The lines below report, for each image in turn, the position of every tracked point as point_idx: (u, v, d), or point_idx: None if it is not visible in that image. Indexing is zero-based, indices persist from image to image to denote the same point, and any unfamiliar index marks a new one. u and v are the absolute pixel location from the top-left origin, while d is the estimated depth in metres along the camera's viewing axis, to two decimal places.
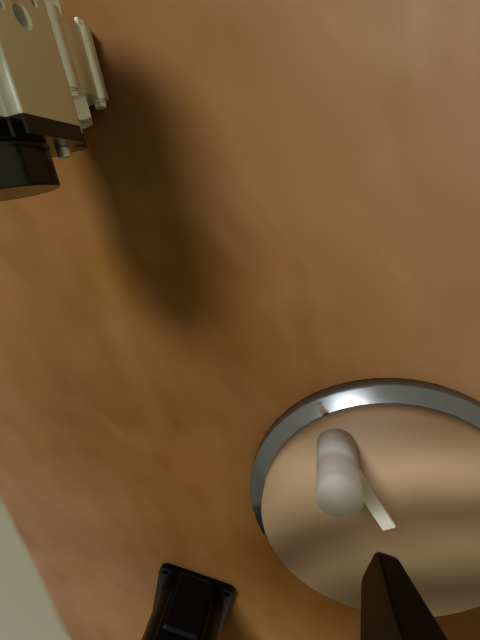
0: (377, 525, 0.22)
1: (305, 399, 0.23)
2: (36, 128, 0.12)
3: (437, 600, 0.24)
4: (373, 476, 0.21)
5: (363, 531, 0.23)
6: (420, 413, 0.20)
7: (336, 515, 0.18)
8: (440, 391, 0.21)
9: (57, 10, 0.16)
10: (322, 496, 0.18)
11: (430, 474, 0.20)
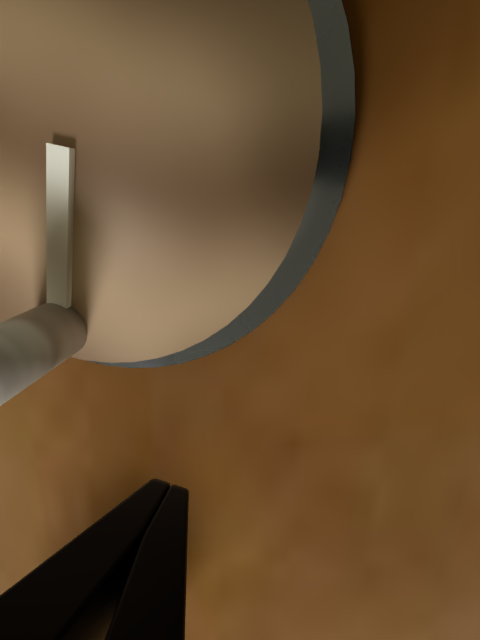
0: (81, 155, 0.12)
1: None
2: None
3: None
4: (40, 250, 0.13)
5: (110, 157, 0.12)
6: None
7: None
8: None
9: None
10: None
11: None
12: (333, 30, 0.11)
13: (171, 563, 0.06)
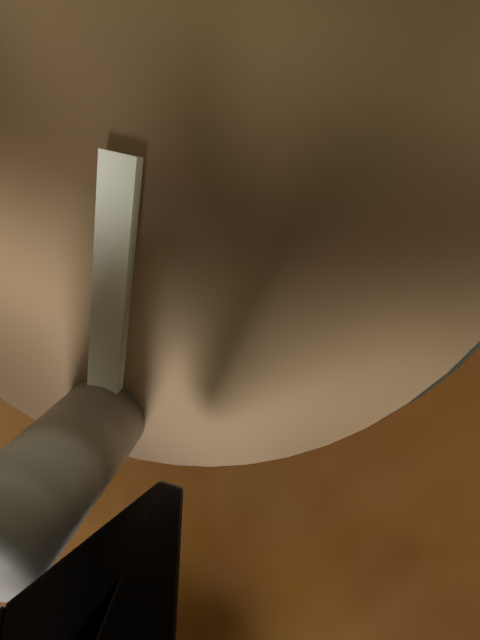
0: (153, 169, 0.07)
1: None
2: None
3: None
4: (79, 310, 0.09)
5: (202, 172, 0.07)
6: None
7: (8, 535, 0.06)
8: None
9: None
10: (14, 587, 0.06)
11: None
12: None
13: (164, 560, 0.06)
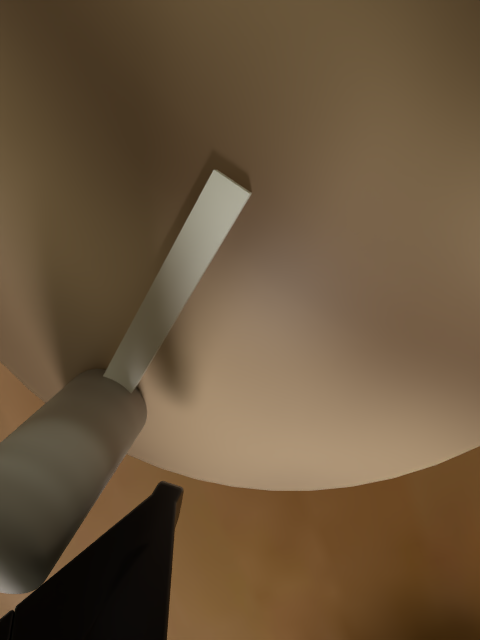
0: (257, 207, 0.07)
1: None
2: None
3: None
4: (122, 303, 0.08)
5: (303, 228, 0.07)
6: None
7: (33, 540, 0.06)
8: None
9: None
10: (13, 581, 0.06)
11: (27, 192, 0.08)
12: None
13: (157, 558, 0.06)
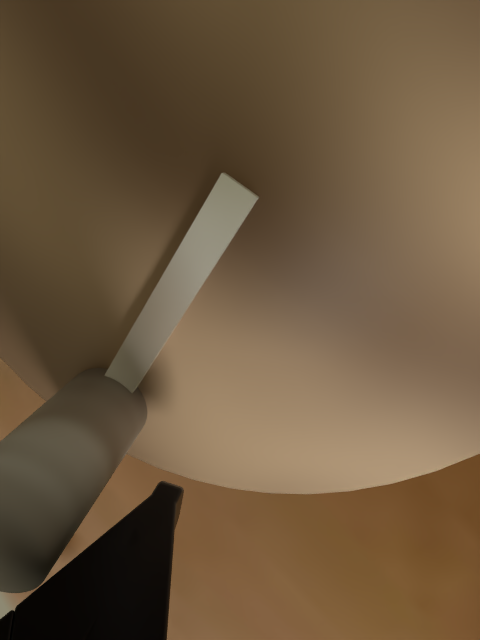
0: (264, 211, 0.07)
1: None
2: None
3: None
4: (125, 303, 0.08)
5: (309, 234, 0.07)
6: None
7: (33, 540, 0.06)
8: None
9: None
10: (11, 580, 0.06)
11: (33, 190, 0.08)
12: None
13: (156, 558, 0.06)
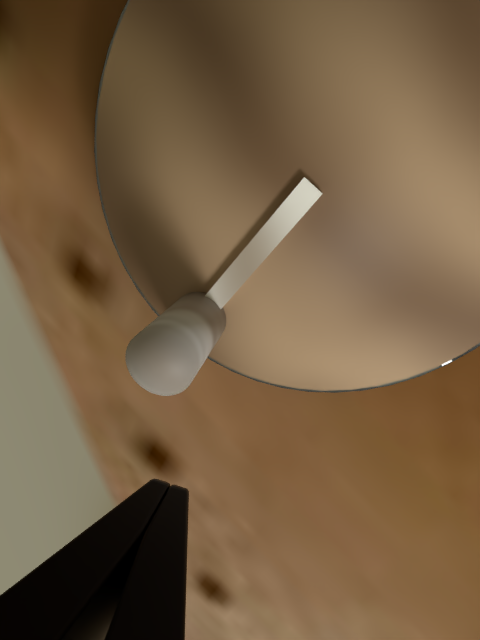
0: (324, 202, 0.12)
1: None
2: None
3: None
4: (226, 250, 0.13)
5: (349, 218, 0.12)
6: None
7: (190, 359, 0.11)
8: None
9: None
10: (167, 387, 0.11)
11: (183, 173, 0.13)
12: None
13: (171, 563, 0.06)
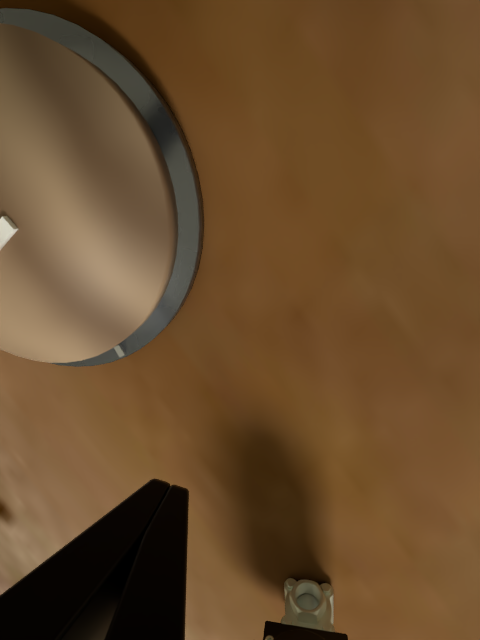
0: (20, 234, 0.18)
1: None
2: None
3: (97, 121, 0.16)
4: None
5: (35, 248, 0.19)
6: None
7: None
8: None
9: None
10: None
11: None
12: (96, 47, 0.16)
13: (171, 563, 0.06)
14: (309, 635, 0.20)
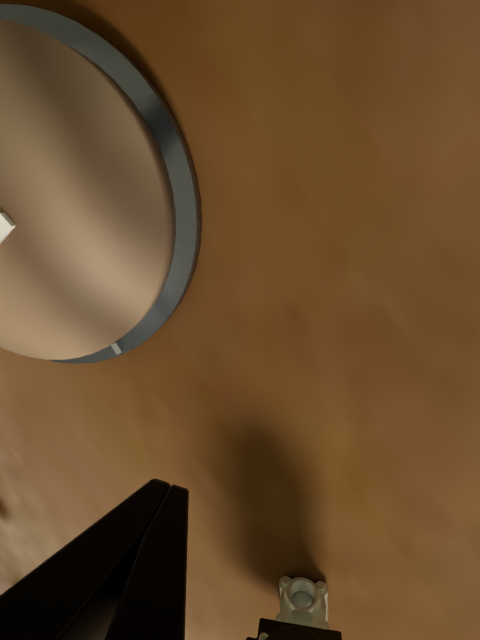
0: (17, 231, 0.18)
1: None
2: None
3: (95, 119, 0.16)
4: None
5: (33, 245, 0.19)
6: None
7: None
8: None
9: None
10: None
11: None
12: (94, 44, 0.16)
13: (171, 563, 0.06)
14: (303, 632, 0.20)
